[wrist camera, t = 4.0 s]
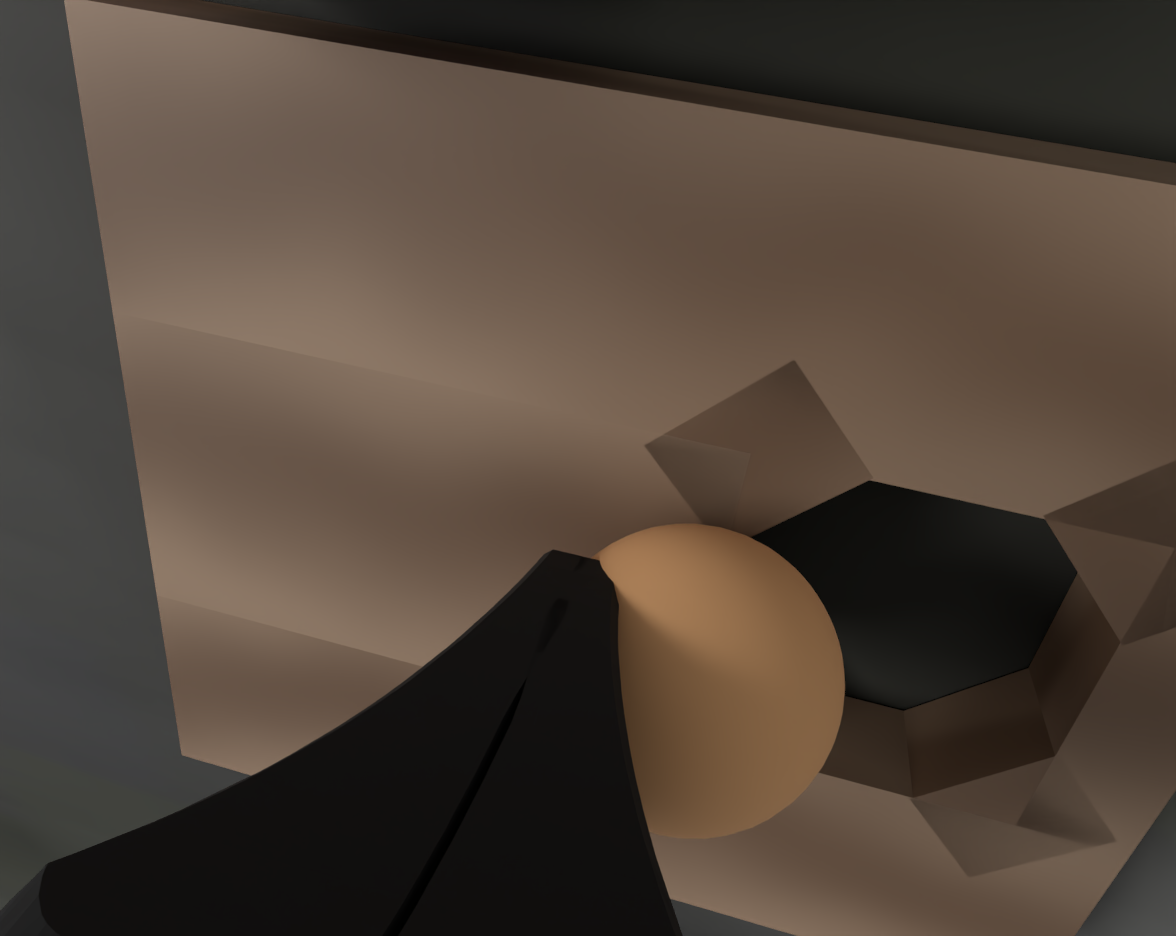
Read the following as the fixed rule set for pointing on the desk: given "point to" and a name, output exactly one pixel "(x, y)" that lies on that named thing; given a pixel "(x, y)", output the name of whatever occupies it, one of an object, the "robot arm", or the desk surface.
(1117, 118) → the desk surface
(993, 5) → the desk surface
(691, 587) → the ball
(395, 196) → the hole board
